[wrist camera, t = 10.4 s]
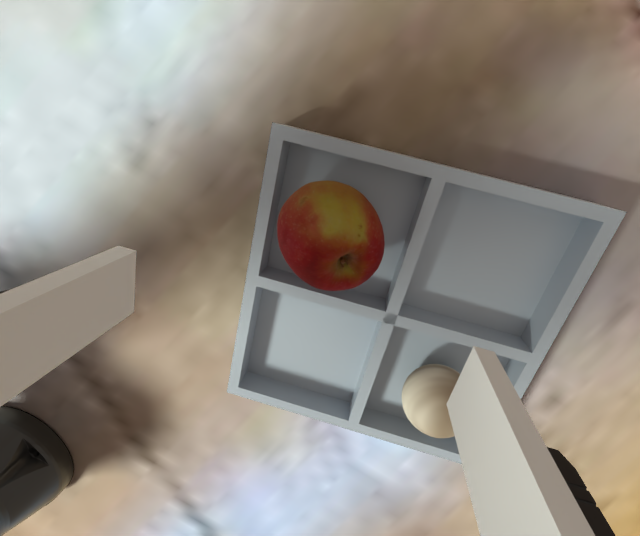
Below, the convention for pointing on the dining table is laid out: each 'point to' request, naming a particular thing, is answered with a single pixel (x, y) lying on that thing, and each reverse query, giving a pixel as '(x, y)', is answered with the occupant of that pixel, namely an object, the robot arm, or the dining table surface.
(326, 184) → the apple
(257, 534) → the dining table surface
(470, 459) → the robot arm
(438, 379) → the wooden ball
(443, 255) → the tray
